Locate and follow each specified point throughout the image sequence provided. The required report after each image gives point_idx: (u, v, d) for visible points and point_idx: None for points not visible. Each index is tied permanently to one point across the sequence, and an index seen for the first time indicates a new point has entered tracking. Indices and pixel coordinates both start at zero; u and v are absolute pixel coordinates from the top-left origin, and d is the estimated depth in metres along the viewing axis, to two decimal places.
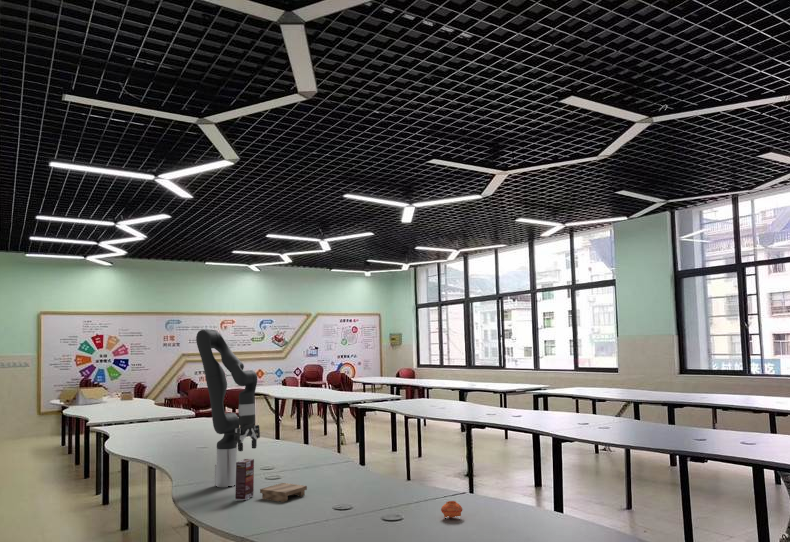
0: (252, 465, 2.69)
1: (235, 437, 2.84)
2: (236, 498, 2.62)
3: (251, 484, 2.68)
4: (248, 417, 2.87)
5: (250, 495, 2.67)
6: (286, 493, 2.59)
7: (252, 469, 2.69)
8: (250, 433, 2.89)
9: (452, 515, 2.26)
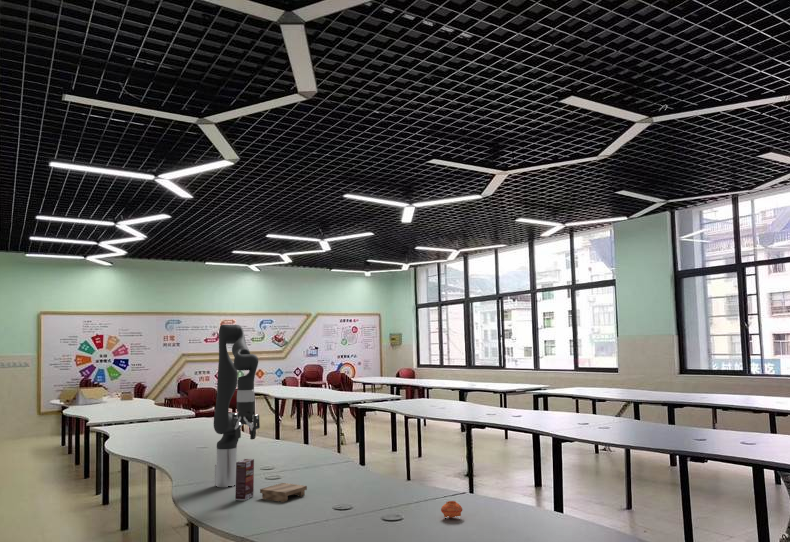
0: (252, 465, 2.69)
1: None
2: (236, 498, 2.62)
3: (251, 484, 2.68)
4: None
5: (250, 495, 2.67)
6: (286, 493, 2.59)
7: (252, 469, 2.69)
8: None
9: (452, 515, 2.26)
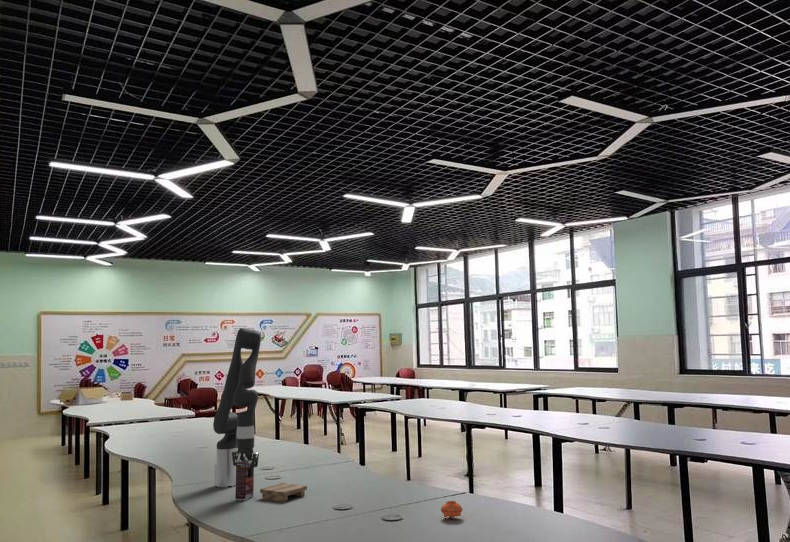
0: None
1: None
2: (236, 498, 2.62)
3: (251, 484, 2.68)
4: None
5: (250, 495, 2.67)
6: (286, 493, 2.59)
7: None
8: None
9: (452, 515, 2.26)
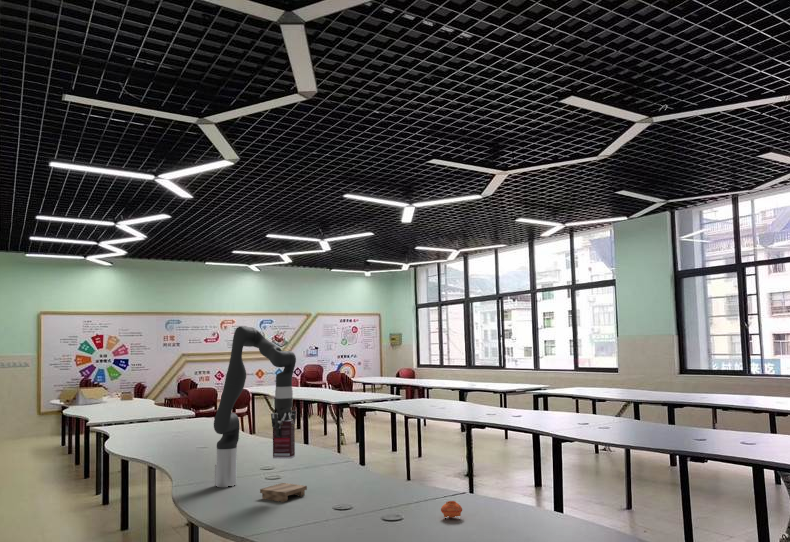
0: None
1: None
2: (291, 456, 2.67)
3: None
4: None
5: None
6: (286, 493, 2.59)
7: None
8: None
9: (452, 515, 2.26)
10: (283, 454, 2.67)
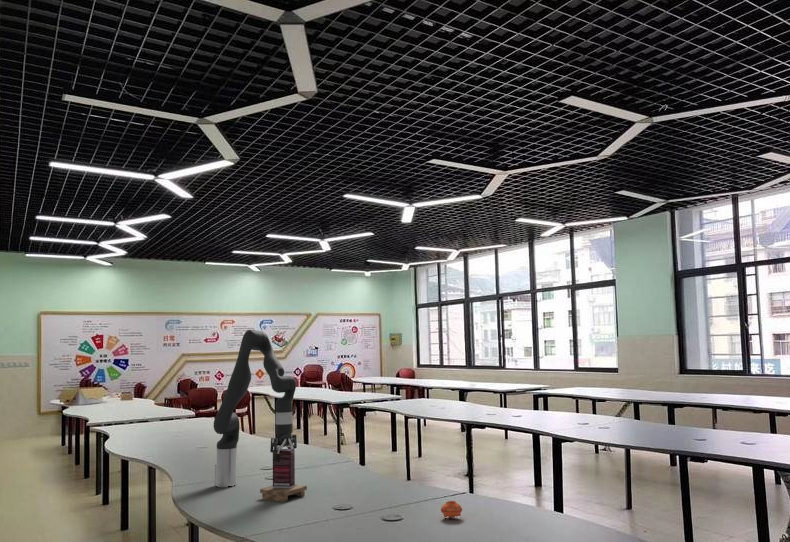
0: None
1: None
2: (291, 485, 2.66)
3: None
4: None
5: None
6: (286, 493, 2.59)
7: None
8: None
9: (452, 515, 2.27)
10: (283, 484, 2.66)
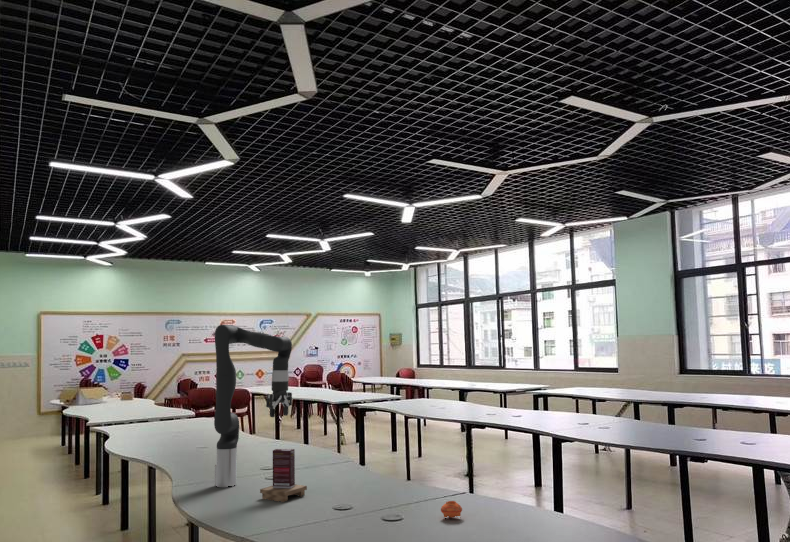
0: None
1: None
2: (291, 485, 2.66)
3: None
4: None
5: None
6: (286, 493, 2.59)
7: None
8: None
9: (452, 515, 2.27)
10: (283, 484, 2.66)
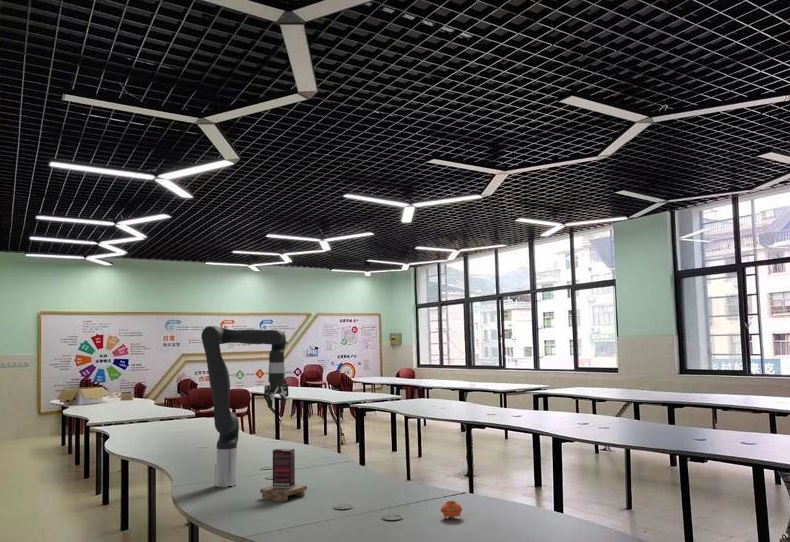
0: None
1: None
2: (291, 485, 2.66)
3: None
4: None
5: None
6: (286, 493, 2.59)
7: None
8: None
9: (452, 515, 2.27)
10: (283, 484, 2.66)
